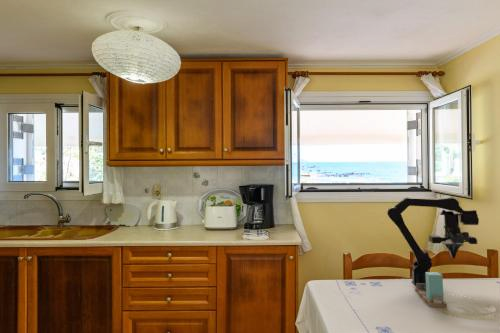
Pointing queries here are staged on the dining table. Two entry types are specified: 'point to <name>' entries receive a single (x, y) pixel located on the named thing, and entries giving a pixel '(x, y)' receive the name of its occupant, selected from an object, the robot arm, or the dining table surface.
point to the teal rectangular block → (434, 285)
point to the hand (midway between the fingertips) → (453, 258)
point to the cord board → (421, 292)
